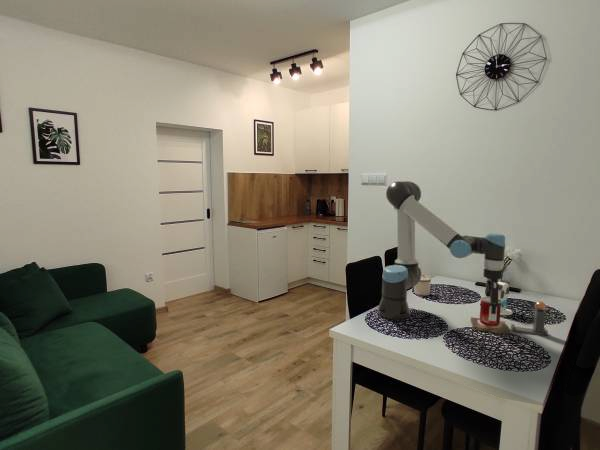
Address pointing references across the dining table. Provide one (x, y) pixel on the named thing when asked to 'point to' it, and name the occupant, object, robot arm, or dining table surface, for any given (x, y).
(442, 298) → the dining table surface
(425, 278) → the teacup with lid
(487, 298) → the canned food
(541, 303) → the press lever
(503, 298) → the panda figurine
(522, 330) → the lever rail
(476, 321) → the plate
